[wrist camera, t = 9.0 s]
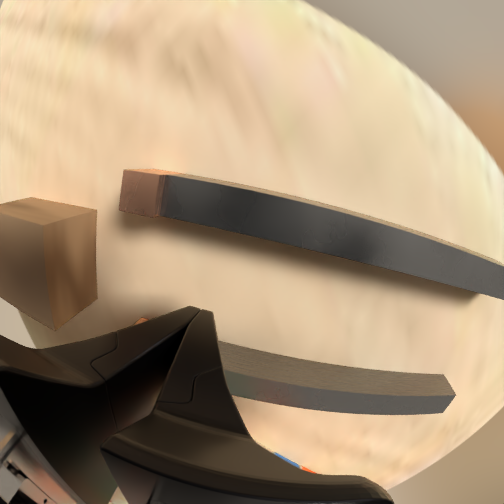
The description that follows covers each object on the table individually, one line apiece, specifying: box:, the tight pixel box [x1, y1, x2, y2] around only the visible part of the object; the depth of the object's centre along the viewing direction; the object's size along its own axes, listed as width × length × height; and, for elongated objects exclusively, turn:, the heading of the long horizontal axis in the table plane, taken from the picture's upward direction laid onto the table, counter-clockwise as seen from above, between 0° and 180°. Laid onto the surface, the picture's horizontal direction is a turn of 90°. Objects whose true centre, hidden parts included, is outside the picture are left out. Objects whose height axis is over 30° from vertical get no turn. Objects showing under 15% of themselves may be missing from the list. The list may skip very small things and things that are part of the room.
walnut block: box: [0, 197, 98, 331], centre depth 11 cm, size 5×6×4 cm
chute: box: [119, 169, 504, 415], centre depth 11 cm, size 9×18×2 cm, turn 78°
